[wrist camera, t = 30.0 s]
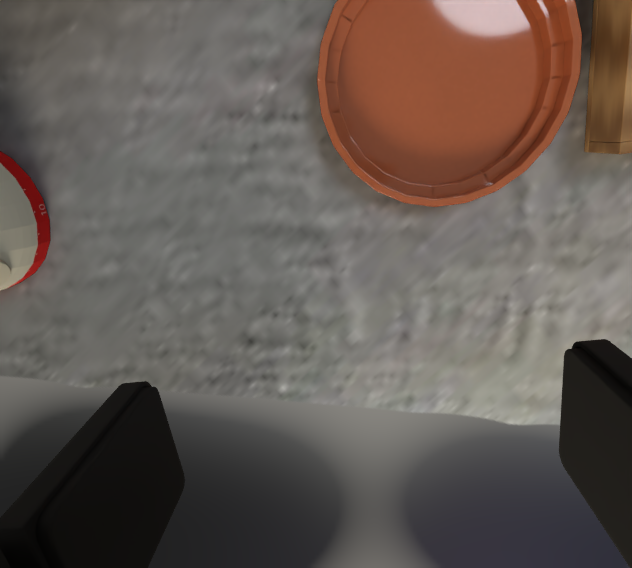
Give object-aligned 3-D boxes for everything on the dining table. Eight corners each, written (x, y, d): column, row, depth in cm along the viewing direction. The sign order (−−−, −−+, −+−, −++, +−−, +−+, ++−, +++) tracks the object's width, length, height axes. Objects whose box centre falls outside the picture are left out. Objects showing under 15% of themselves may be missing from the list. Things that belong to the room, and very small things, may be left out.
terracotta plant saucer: (304, -34, 31) (300, -51, 28) (566, -86, 29) (590, -110, 26) (335, 213, 36) (334, 220, 34) (555, 184, 34) (574, 189, 32)
